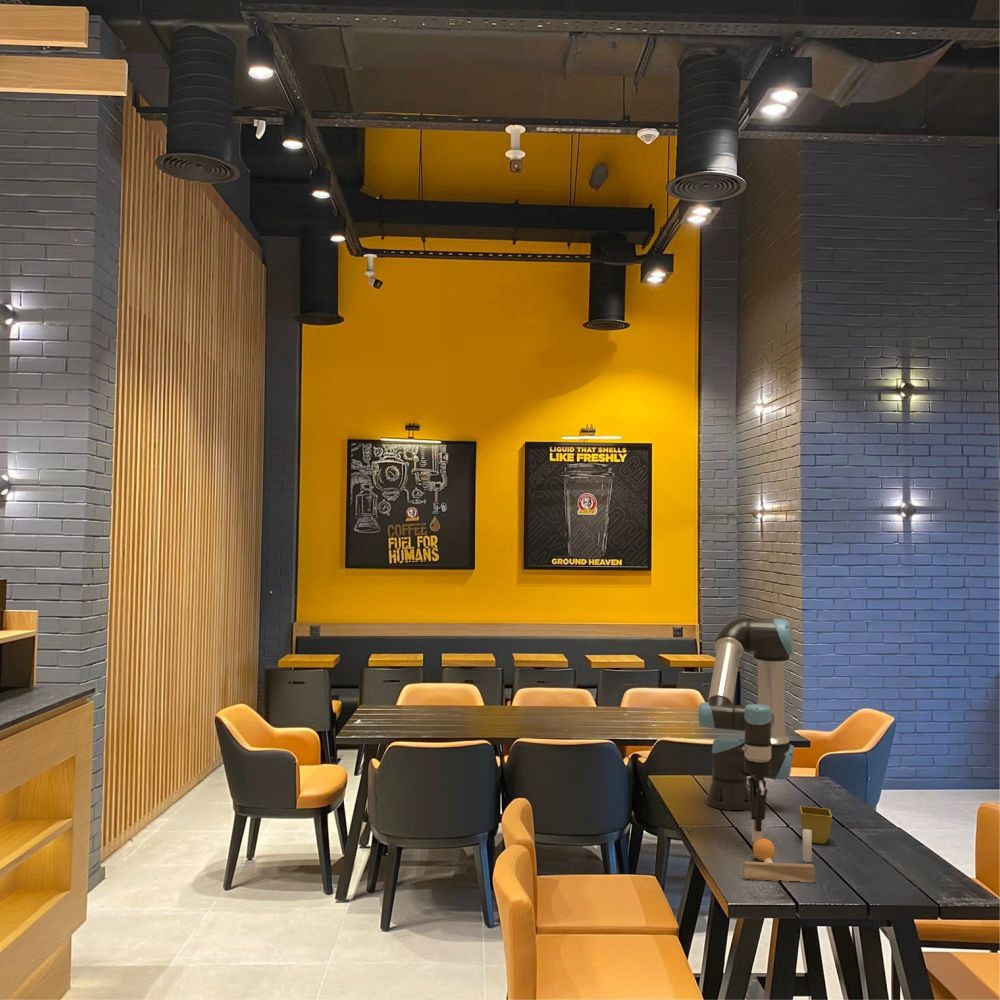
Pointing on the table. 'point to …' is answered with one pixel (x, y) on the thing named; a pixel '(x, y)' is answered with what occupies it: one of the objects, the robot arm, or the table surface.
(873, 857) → the table surface
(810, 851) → the beige tapered peg
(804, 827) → the flower pot
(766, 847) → the ball
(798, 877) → the back wall
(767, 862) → the cream pin
